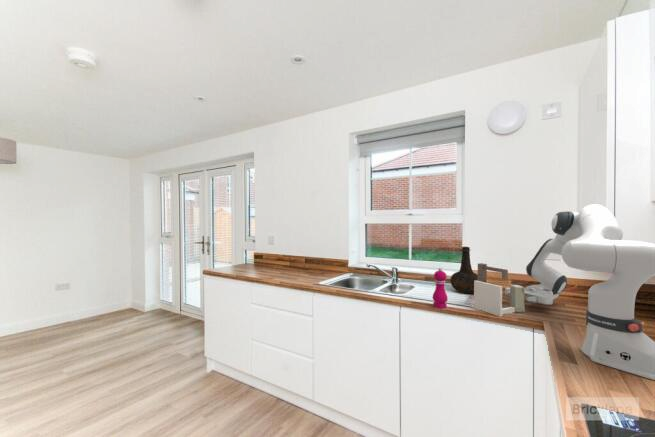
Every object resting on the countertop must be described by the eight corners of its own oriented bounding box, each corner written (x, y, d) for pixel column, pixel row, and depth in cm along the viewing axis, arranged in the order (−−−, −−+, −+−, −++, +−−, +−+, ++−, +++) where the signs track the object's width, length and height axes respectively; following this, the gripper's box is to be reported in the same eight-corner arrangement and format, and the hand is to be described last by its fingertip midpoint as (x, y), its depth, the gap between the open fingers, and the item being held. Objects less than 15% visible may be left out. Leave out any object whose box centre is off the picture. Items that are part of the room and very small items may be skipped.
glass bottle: (486, 292, 183) (486, 246, 182) (476, 297, 170) (476, 249, 170) (456, 287, 195) (457, 244, 195) (445, 291, 182) (446, 246, 182)
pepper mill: (448, 309, 148) (449, 269, 148) (433, 308, 149) (434, 268, 149) (445, 305, 155) (446, 267, 155) (431, 304, 156) (431, 266, 156)
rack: (516, 313, 142) (517, 284, 142) (500, 316, 137) (500, 286, 137) (489, 305, 155) (490, 278, 155) (473, 308, 150) (474, 280, 150)
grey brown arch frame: (507, 313, 142) (508, 267, 142) (503, 313, 141) (504, 268, 141) (481, 304, 156) (481, 263, 155) (477, 305, 154) (477, 263, 154)
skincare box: (525, 312, 143) (525, 287, 143) (515, 312, 144) (515, 287, 144) (518, 308, 150) (519, 284, 150) (509, 308, 150) (509, 284, 150)
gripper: (514, 283, 162) (497, 285, 156) (556, 292, 143) (539, 295, 138) (514, 295, 162) (497, 297, 156) (556, 305, 143) (539, 308, 138)
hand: (517, 296), depth 147 cm, fingers open, 8 cm apart
